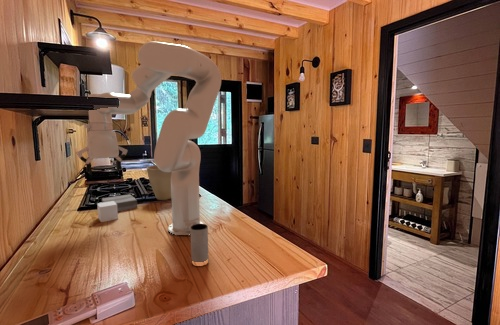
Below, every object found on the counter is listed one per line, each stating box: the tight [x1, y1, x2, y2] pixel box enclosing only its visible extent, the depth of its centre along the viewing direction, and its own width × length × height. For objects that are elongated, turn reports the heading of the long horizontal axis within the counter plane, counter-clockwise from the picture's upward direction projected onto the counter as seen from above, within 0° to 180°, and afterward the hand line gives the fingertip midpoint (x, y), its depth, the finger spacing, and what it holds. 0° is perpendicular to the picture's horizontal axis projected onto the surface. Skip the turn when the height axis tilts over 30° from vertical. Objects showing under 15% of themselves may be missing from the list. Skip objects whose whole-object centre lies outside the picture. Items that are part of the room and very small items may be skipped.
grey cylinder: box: [190, 223, 209, 262], centre depth 73 cm, size 4×4×10 cm
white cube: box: [96, 201, 119, 223], centre depth 107 cm, size 6×6×6 cm
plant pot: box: [146, 164, 172, 201], centre depth 135 cm, size 15×15×16 cm
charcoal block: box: [101, 193, 138, 212], centre depth 121 cm, size 12×12×4 cm
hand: (104, 172), depth 105 cm, fingers open, 9 cm apart
